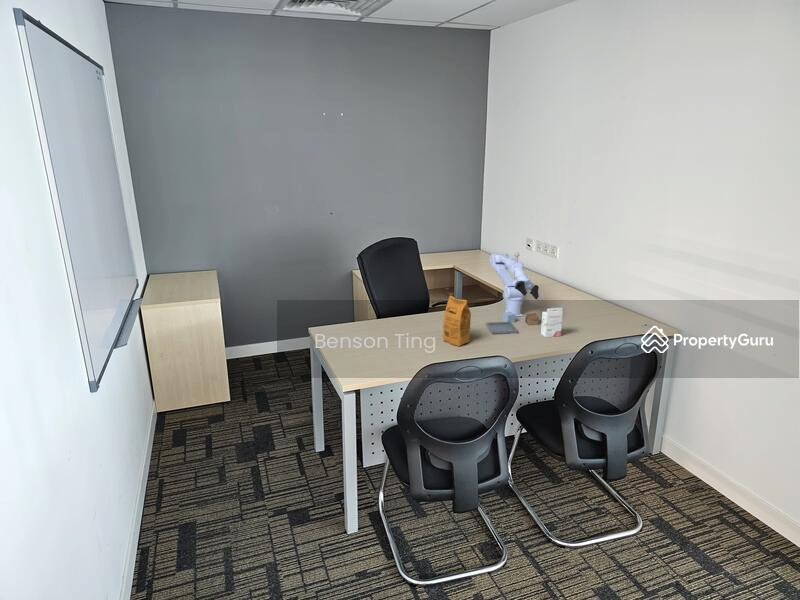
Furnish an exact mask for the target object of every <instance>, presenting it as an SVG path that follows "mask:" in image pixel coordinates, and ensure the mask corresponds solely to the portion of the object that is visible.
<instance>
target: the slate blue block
mask: <svg viewBox="0 0 800 600" xmlns="http://www.w3.org/2000/svg"><path fill="white" fill-rule="evenodd" d="M504 321H505V322H513V323H516V322H515V321H516V316H515V314H514V313H512V312H506V313H505V312H503V313H502V322H504Z"/></svg>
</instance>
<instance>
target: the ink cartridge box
mask: <svg viewBox="0 0 800 600" xmlns="http://www.w3.org/2000/svg"><path fill="white" fill-rule="evenodd" d="M541 313H542V314H541V316H542V317H541V327H540V328H541V330H540V334H541V335H542V336H543V337H544V338H551V337H553V338H554V336H555V337H562V325H563V316H564V315H563V307H551V308H550V307H549V308H547V309H546V311H542V312H541Z"/></svg>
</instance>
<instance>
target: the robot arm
mask: <svg viewBox="0 0 800 600" xmlns="http://www.w3.org/2000/svg"><path fill="white" fill-rule="evenodd" d="M489 264H490V266H491V267H492V269H493V270H495V271H496V274H497V276H498V277H499V279H500V280H501V282H502V283H503V285H504V289H503V290H504V291H503V292H504V293H505V296H506V298H507V300H506V303H505V309H504V310H503V312H504V311H505V312H504V313H506V312H512V313H514V314H515V317H524V315H523V314H522V304H521V300H522V299H523V298H524V296H525V295H527V294H528V291H527V290H530V292H529V294H530V295H532V297H533V299H535V300H538V299H539V297H540V296H539V288H540V287H539V285H537V284H534V283H533V282H532V279H531V278H529V277H528V275H527V273H526V271H525V266H524V263H523V262H522V261H520V262H517V261H515V258H513V257H509V254H508V253H507V252H506V253H491V254H490V256H489ZM507 270H509V272H508V271H507ZM511 275H512V276H513V277H514V276H515V278H516V280H514V278H512V277H511Z"/></svg>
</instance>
